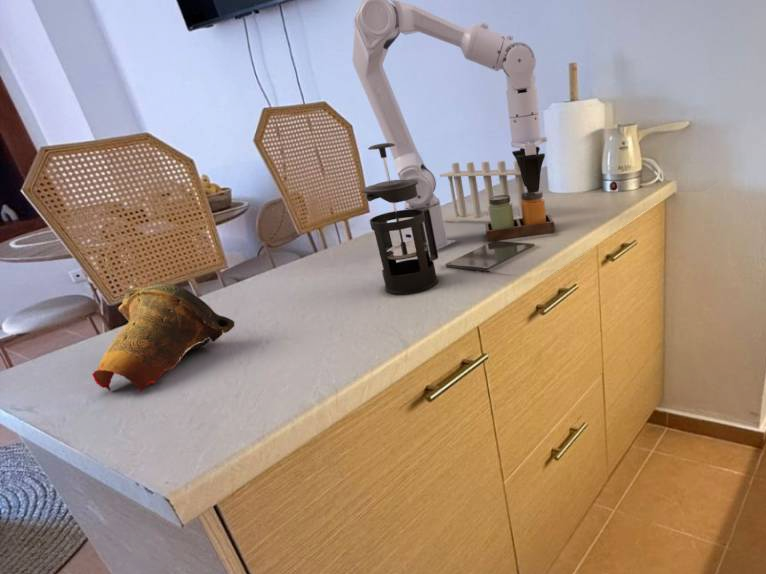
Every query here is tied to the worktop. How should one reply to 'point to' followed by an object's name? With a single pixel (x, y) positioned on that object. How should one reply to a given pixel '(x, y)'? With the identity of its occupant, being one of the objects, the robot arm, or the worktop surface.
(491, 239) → the jar stand
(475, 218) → the test tube rack
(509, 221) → the sage jar
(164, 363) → the pot
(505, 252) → the slate board
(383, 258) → the french press
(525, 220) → the honey jar
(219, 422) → the worktop surface
